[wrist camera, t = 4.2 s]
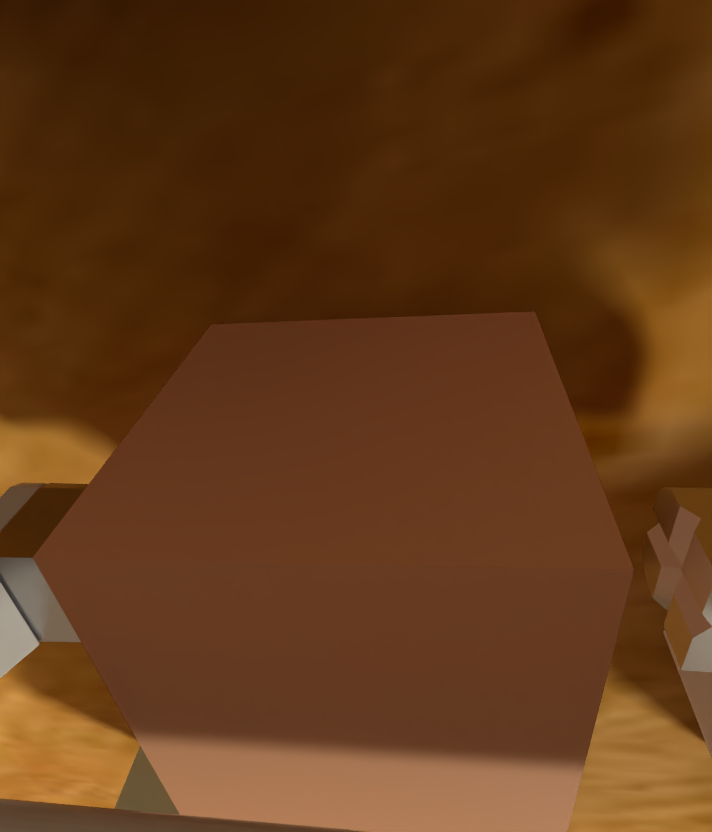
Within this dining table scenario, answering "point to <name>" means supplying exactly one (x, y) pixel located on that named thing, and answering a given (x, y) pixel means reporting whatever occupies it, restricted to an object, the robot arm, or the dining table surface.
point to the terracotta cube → (354, 577)
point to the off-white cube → (698, 696)
